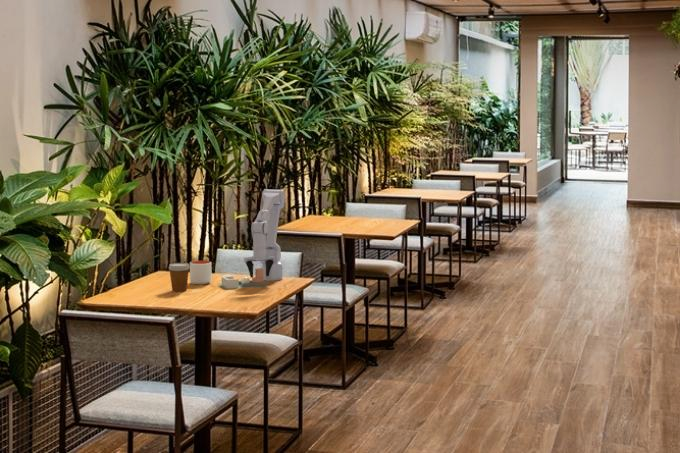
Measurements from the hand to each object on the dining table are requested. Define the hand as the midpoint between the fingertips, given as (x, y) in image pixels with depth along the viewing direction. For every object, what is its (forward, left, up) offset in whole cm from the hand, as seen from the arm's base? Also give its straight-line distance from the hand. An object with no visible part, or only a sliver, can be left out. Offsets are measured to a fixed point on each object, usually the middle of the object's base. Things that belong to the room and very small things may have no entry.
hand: (259, 276), depth 469 cm
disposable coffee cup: (+37, -3, -5) cm, 37 cm away
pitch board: (+8, -2, -5) cm, 9 cm away
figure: (0, 0, -4) cm, 4 cm away
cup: (+23, -18, -5) cm, 30 cm away
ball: (+7, 0, -2) cm, 7 cm away
